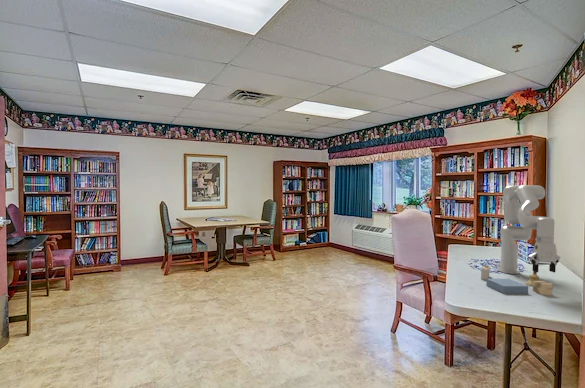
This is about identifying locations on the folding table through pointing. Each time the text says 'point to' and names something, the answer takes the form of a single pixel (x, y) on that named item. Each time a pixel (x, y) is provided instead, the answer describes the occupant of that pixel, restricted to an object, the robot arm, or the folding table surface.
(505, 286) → the slate base
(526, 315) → the folding table surface
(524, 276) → the folding table surface
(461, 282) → the folding table surface
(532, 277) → the hand bell
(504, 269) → the robot arm
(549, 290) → the oak cube
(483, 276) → the model
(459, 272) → the folding table surface
